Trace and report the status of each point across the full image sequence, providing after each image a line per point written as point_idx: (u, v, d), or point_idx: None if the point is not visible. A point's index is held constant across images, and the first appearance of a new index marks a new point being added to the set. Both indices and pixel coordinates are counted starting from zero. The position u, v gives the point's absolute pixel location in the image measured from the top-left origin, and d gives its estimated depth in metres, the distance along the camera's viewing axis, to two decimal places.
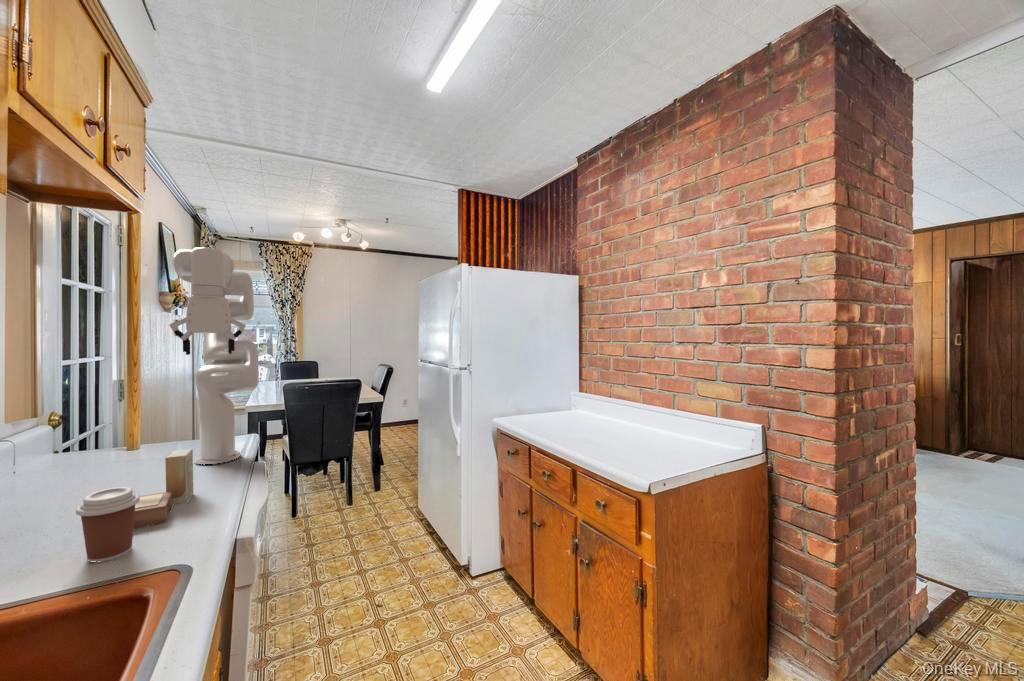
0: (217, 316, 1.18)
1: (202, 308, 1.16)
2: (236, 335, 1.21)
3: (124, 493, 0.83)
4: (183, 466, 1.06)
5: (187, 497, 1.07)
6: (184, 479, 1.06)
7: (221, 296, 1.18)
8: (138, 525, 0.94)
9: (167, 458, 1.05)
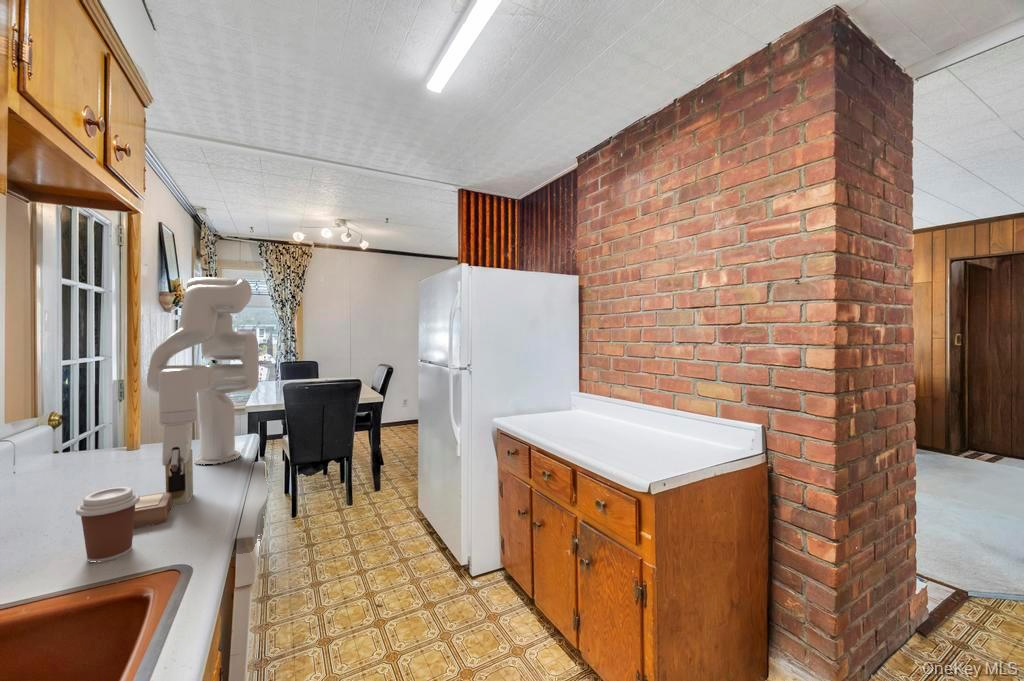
0: (191, 439, 1.11)
1: (190, 433, 1.08)
2: None
3: (124, 493, 0.83)
4: None
5: (187, 497, 1.07)
6: None
7: None
8: (138, 525, 0.94)
9: None
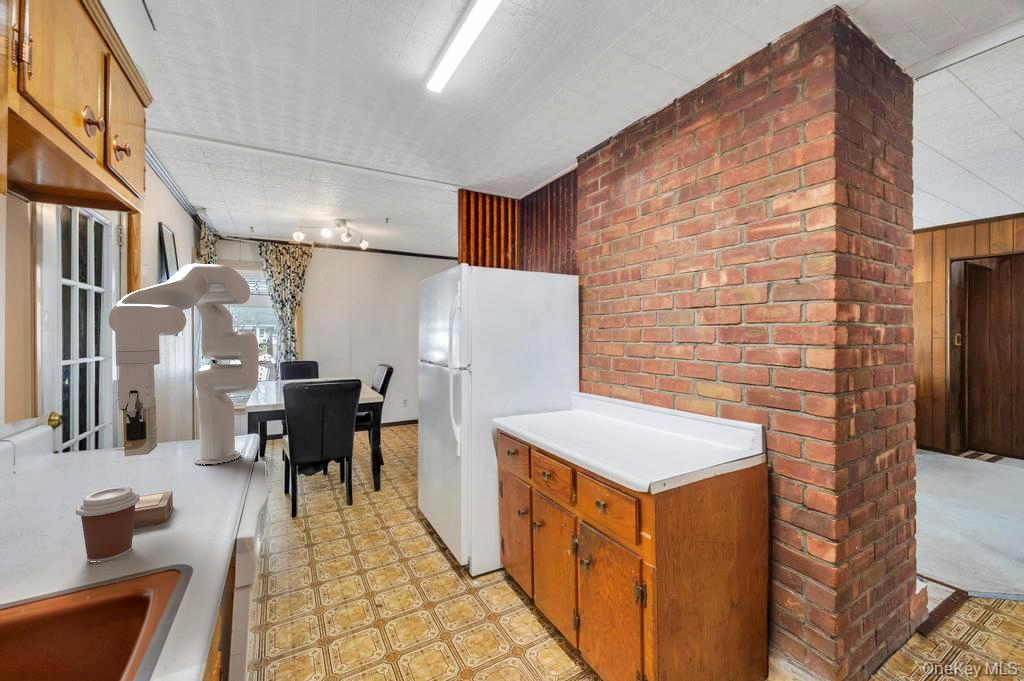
0: (154, 385, 1.00)
1: (151, 377, 0.97)
2: None
3: (124, 493, 0.83)
4: (144, 413, 0.95)
5: (149, 448, 0.96)
6: None
7: None
8: (138, 525, 0.94)
9: None
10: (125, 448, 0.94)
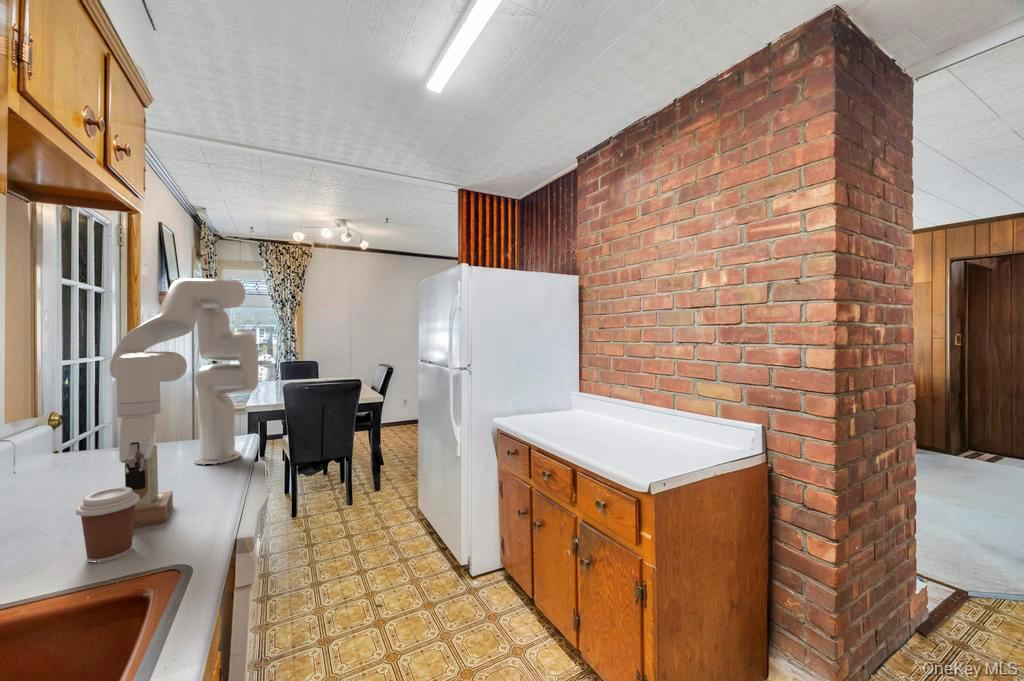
0: None
1: (152, 427, 0.97)
2: None
3: (124, 493, 0.83)
4: (145, 464, 0.95)
5: (150, 498, 0.97)
6: (146, 478, 0.96)
7: None
8: (138, 525, 0.94)
9: None
10: None
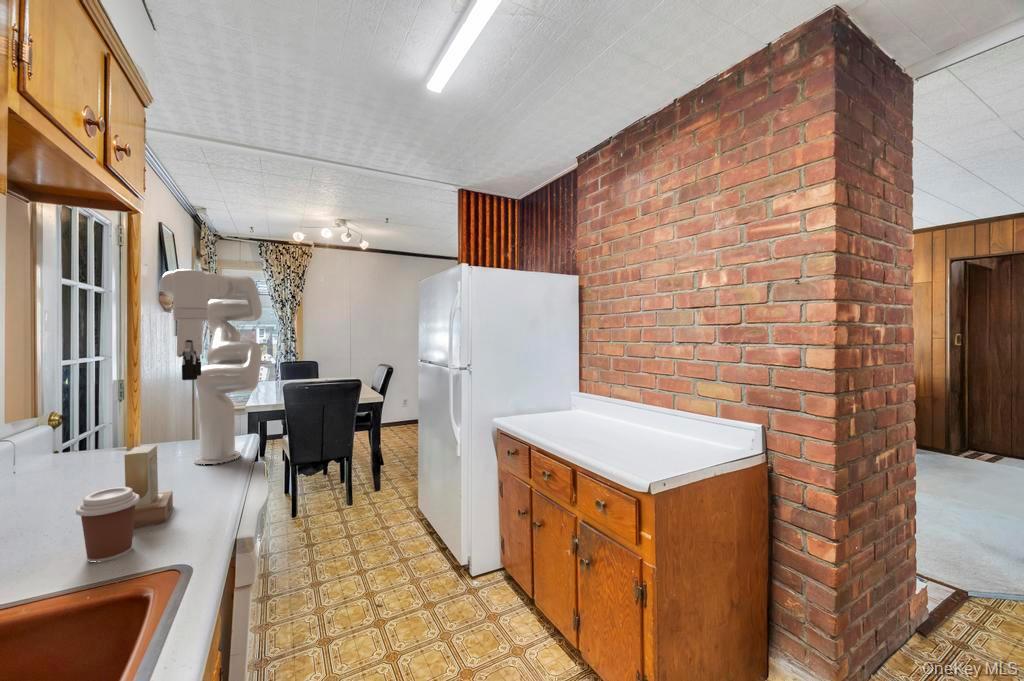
0: None
1: (201, 331, 1.16)
2: (197, 357, 1.22)
3: (124, 493, 0.83)
4: (145, 464, 0.95)
5: (150, 498, 0.97)
6: (146, 478, 0.96)
7: None
8: (138, 525, 0.94)
9: (126, 455, 0.94)
10: None
